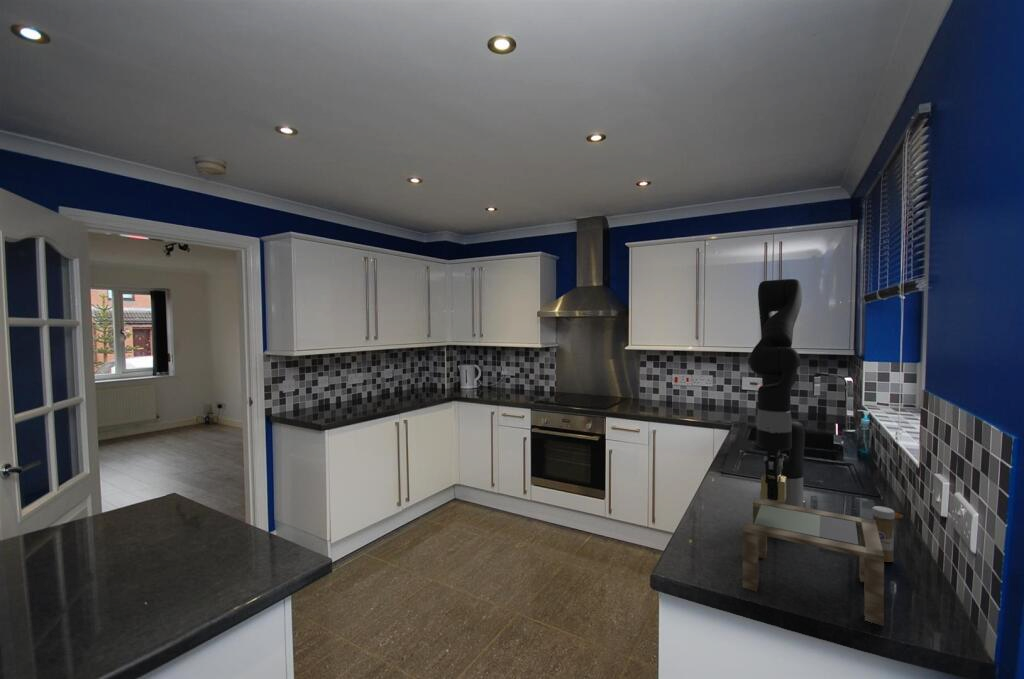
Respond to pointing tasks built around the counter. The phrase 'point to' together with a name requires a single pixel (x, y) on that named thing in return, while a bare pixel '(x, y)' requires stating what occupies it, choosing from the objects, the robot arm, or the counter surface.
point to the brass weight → (780, 488)
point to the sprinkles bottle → (885, 530)
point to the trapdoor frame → (868, 548)
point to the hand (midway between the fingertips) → (773, 495)
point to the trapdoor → (810, 526)
